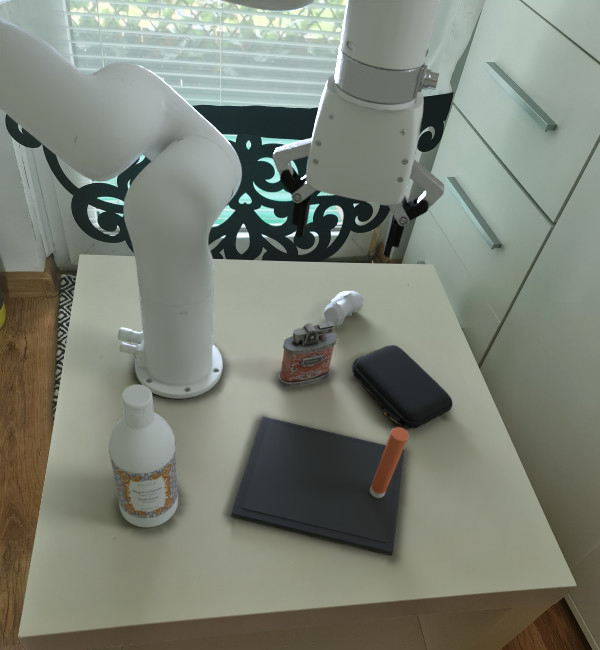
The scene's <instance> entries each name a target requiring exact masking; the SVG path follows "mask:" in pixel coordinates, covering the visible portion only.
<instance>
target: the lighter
mask: <svg viewBox="0 0 600 650" xmlns="http://www.w3.org/2000/svg"><path fill="white" fill-rule="evenodd" d="M335 328H336V326H335V325H334V324H333V323H332V322H327V321H326V322H323V323H318V324H314V325H313V323H311V322H309V323H305V324H304V325H303V326H302V327H299V328H295V329H293V332H292V336H289V337H287V338H285V339H284V341H283V345H282V347H283V355H282V360H281V368H280V372H279V375H278V383H279V384H280V385H281V386H283V387H285V388H291V387H292V388H293V387H294V388H295V387H302V386H308V385H311V384H312V385H313V384H315V383H318V382H320V381H323V380H325V379H327V378H328V377H329V376H330V372H331V369H330V367H331V362H332V356H333V354H334V348H335V345H336V344H337V341H338V336H337V334H336V333H335Z"/></svg>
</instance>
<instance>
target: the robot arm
mask: <svg viewBox="0 0 600 650" xmlns="http://www.w3.org/2000/svg"><path fill="white" fill-rule="evenodd" d="M11 1H12V0H0V6H1V5H4V4H7V3H8V2H11ZM218 1H220V2H225V3H229V4H234V5H238V6H242V7H247V8H251V9H256V10H261V11H267V12H277V13H278V12H280V13H281V12H294V11H298V10H301V9H304V8H307V7H308V6H310V5H312V4H313V3H314V2H316V1H317V0H218ZM441 2H442V0H346V3H345V5H346V6H345V10H344V11H345V12H344V19H343V23H342V30H341V36H340V43H339V47H338V55H337V62H336V67H335V74H333V75H330V76H329V77H328V78H327V80H326V83H325V86H324V89H323V91H322V95H321V98H320V102H319V105H318V109H317V114H316V117H315V122H314V127H313V131H312V136H311V137H310V138H305V139H303V140H299V141H295V142H291V143H288V144H285V145H282V146H281V145H280V146H278V147H276V148H275V150H274V152H273V154H272V160H273V163H274V165H275V168H276V171H277V173H278V174H279V180H280V182H281V183H282V184H283V186H284V187H285V188H286V190H287V191H288V192H289V194H290V195H291V200H292V202H294V203H293V211H292V219H291V225H293V226H296V231H295V237H296V238H299V239H301V238H303V237H304V234H305V231H306V229H307V225H308V221H309V214H310V208H311V202H312V195H313V194H314V193H315V192H317V191H319V192H322V193H325V194H330V195H333V196H338V197H343V198H347V199H352V200H356V201H360V202H361V201H362V202H366V203H370V204H375V205H379V206H381V205H382V206H387V207H388V209H389V210H390V211H391V213H392V215H391V219H390V224H389V227H388V229H387V230H388V231H387V234H386V238H385V242H384V247H383V253H382V256H384V257H385V258H390V256H391V253H392V249H393V248H397V249H399V247H400V244H401V240H402V236H403V234H404V230H405V227H406V226H408V225H409V223H410V222H411V221H413V220H414V219H416V218H418V217H420V216H422V215H424V214H425V213H427V212H428V211H429V209H430V208H431V206H433V205H435V204H436V202H437V201H438V200H439V199H440V198H441V197H442V196H443V195H444V193H445V184H444V183H443V182H442V181H441V180H440V179H439V178H437V177H436V176H435V175H434V174H433V173H432V172H430V170H428V169H427V168H426V167H424V166H423V165H422V164H421V163H420V162H418V161H417V160H416V155H417V149H418V144H419V140H420V135H421V128H422V123H423V114H424V96H423V94H422V90H425V91H426V90H427V89H428V90H433V91H435V90H436V88H437V84H438V80H439V76H440V73H439V72H434V71H432V69H428V66H429V65H427V64H426V60H427V56H428V53H429V49H430V45H431V41H432V37H433V34H434V31H435V25H436V22H437V18H438V14H439V10H440V8H441V7H440V6H441V4H442V3H441ZM0 111H2V112H4V113H5V114H6V115H7V116H8V117H10V118H11V120H13V121H14V122H15V123H16V124H17V125H18V126H20V127H21V128H22V129H23V130H25V131H26V132H27V133H29V134H30V136H32V137H34V139H36V140H37V141H38V142H39V143H40V144H42V145H43V146H44V147H45V148H47V149H48V150H49V151H51V152H52V154H54V155H55V156H56V157H58V158H59V159H60V160H61V161H62V162H63V163H65V164H66V165H67V166H69V167H70V168H71V169H73V171H75V172H77V174H79V175H81V176H82V177H84V178H85V179H86V178H87V179H88V180H90V181H94V182H100V183H101V182H107V181H110V180H113V179H115V178H117V177H118V176H120V175H121V174H122V173H124V172H125V171H126V170H128V169H129V168H130V167H131V166H132V165H133V164H134V163H135V162H136V161H137V160H139V158H141V157H142V156H144V157H145V158H146V159H148V160H149V161H150V162H149V163H148V164H147V165H146V166H145V167H143V169H142V170H141V171H140V172H139V173H138V174H137V176H136V177H135V178H134V179H133V180H132V182H131V184H130V186H129V187H128V190H127V191H126V194H125V196H124V201H123V219H124V223H125V226H126V230H127V233H128V236H129V239H130V241H131V246H132V248H133V249H132V250H133V254H134V260H135V265H136V267H135V268H136V275H137V285H138V295H139V306H140V317H141V326H142V330H141V332H140V331H136V330H134V329H131V328H127V327H123V326H122V327H119V330H118V332H117V339H118V341H121V343H120V345H119V352H122V353H125V354H132V355H135V358H134V371H135V375H136V378H137V380H138V382H139V383H140V385H144V386H146V387H148V388H149V389H150V390H151V392H152V394H155V395H157V396H160V397H164V398H168V399H178V400H179V399H189V398H194V397H197V396H201V395H203V394H204V393H206V392H209V391H210V390H211V389H212V388H213V387H215V386H216V384H217V383H218V382H219V381H220V379H221V377H222V376H223V370H224V360H223V356H222V354H221V352H220V350H219V349H218V347H217V346H215V345H214V309H215V308H214V304H215V303H214V300H215V267H214V258H213V254H212V251H211V249H210V246H209V245H210V244H209V237H210V233H211V230H212V228H213V226H214V224H215V223H216V222H217V220H219V217H220V216H221V214H222V212H223V211H224V210H225V209H226V207H227V206H228V204H229V203H230V202H231V201H232V199H233V198H234V197H235V196H236V194H237V192H238V190H239V188H240V185H241V183H242V177H243V172H242V171H243V170H242V164H241V160H240V158H239V155H238V152H236V150H235V148H234V147H233V145H232V144H231V143H230V142H229V140H228V139H227V138H226V137H225V136H224V135H223V134H222V133H221V132H220V131H219V130H218V129H217V128H216V127H215V126H214V125H213V124H212V123H211V122H210V121H209V120H207V119H206V118H205V117H204V116H203V115H202V114H201V113H200V112H199V111H198V110H197V109H195V107H193V106H192V105H191V104H190V102H188V101H187V100H186V99H184V98H183V96H181V94H180V93H178V92H177V91H176V90H175V89H174V88H173V87H171V86H170V85H169V84H168V83H167V82H165V80H164V79H162V77H160V75H157V74H156V73H154V72H153V71H152V70H149V69H148V68H146V67H144V66H141V65H140V64H136V63H132V62H126V61H119V62H113V63H110V64H107V65H105V66H103V67H101V68H100V69H98V70H97V71H95V72H93V73H92V74H88V73H86V72H84V71H82V70H81V69H79V68H78V67H77V66H75V65H74V64H72V62H70V61H69V60H68V59H67V58H65V57H64V56H63V55H62V54H61V53H60V52H59V51H58V50H57V49H56V48H54V47H53V46H52V45H51V44H50V43H49V42H48V41H46V40H44V39H43V38H42V37H40V36H38V35H37V34H35V33H34V32H33V31H30V30H28V29H26V28H24V27H22V26H20V25H18V24H15V23H13V22H10V21H8V20H5V19H4V18H2V17H0ZM306 157H307V161H306V162H307V163H306V170H305V175H304V176H303V177H301V176H300V175H299V174H298V172H297V171H296V169H295V168H294V167H293V166H292V161H296V160H300V159H303V158H306ZM410 180H412V182H414V183H415V184H417V185H418V186H419V188H421V189H423V190H424V191H423V193H422V194H421V195H418V196H417V197H415V198H413V199H411V200H410V201H409V199H408V197H407V196H406V193H407V189H408V186H409V183H410ZM132 343H133V344H137V345H133V344H132Z"/></svg>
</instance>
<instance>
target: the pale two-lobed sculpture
mask: <svg viewBox="0 0 600 650" xmlns="http://www.w3.org/2000/svg"><path fill="white" fill-rule="evenodd" d="M364 305H365V299H364V296H363V295H362V294H361V293H360V292H359V291H356V290H343V291H340V292H339V293H338V294H336V295H335V297H333V298H332V299H331V300H330V303H328V304H327V305H326V306H325V308H324V312H323V316H324V319H325V321H326V323H327V322H332V323H333V324H334V325H335V327H340V326H342V325H343V323H344V321H345V318H346V317H351V316H352V315H353V314H354V313H357V312H359V311H360V310H362V308H363V307H364Z"/></svg>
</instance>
